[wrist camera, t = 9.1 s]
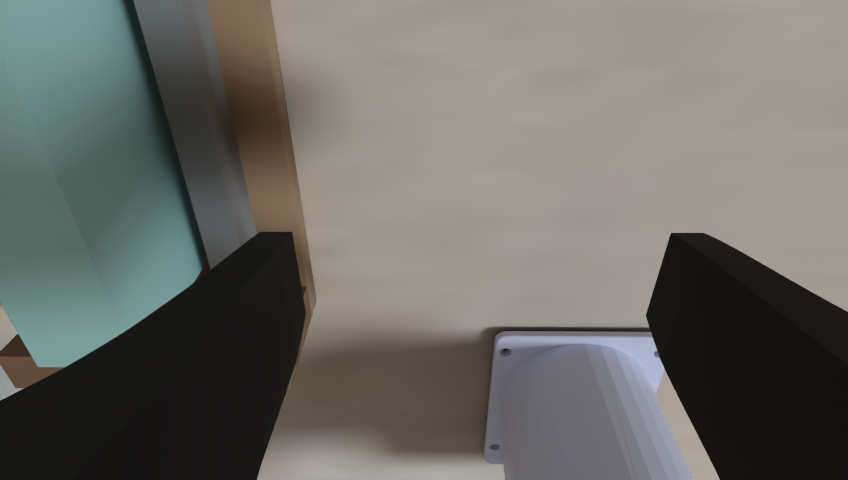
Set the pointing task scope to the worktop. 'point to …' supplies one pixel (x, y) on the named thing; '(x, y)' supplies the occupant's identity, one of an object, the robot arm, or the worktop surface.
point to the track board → (219, 135)
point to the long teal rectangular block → (86, 179)
